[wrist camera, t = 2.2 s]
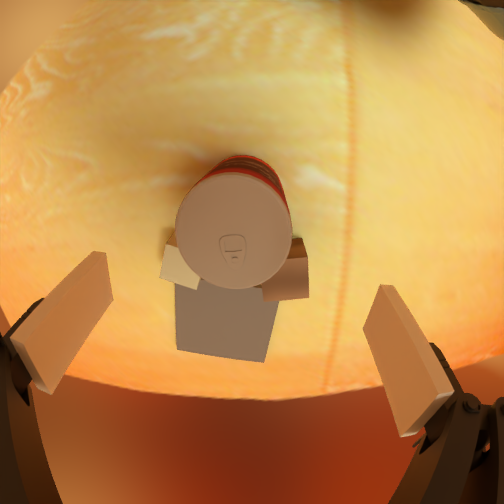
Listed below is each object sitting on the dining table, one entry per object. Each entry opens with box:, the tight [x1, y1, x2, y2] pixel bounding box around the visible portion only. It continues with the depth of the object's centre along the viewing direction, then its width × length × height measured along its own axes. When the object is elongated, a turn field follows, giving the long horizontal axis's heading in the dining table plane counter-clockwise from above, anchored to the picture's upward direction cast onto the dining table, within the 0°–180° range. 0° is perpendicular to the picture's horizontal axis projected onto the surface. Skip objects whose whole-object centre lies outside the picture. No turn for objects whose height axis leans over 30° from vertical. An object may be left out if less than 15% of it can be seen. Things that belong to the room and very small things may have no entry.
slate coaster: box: [175, 278, 279, 363], centre depth 34 cm, size 12×12×1 cm
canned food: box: [175, 155, 292, 289], centre depth 23 cm, size 8×8×11 cm
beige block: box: [160, 232, 201, 290], centre depth 29 cm, size 4×4×4 cm
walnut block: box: [261, 238, 309, 302], centre depth 29 cm, size 4×4×4 cm
